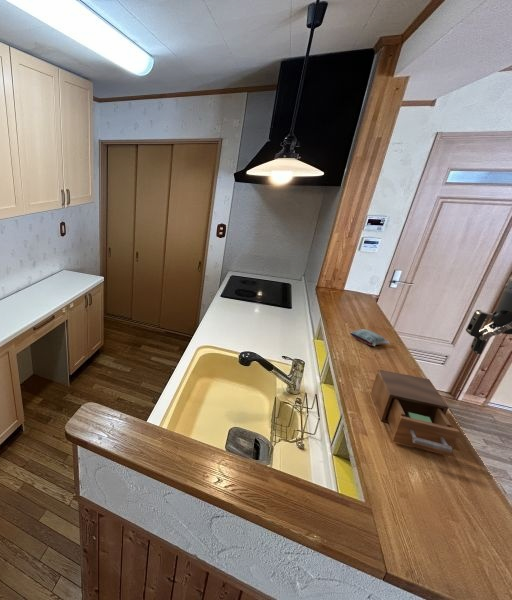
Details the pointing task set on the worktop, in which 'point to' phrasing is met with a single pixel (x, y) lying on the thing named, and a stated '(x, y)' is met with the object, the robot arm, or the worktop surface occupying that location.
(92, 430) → the worktop surface
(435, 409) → the drawer
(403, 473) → the worktop surface
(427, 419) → the block
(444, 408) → the cabinet
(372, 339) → the packaged food
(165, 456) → the worktop surface
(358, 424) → the worktop surface
